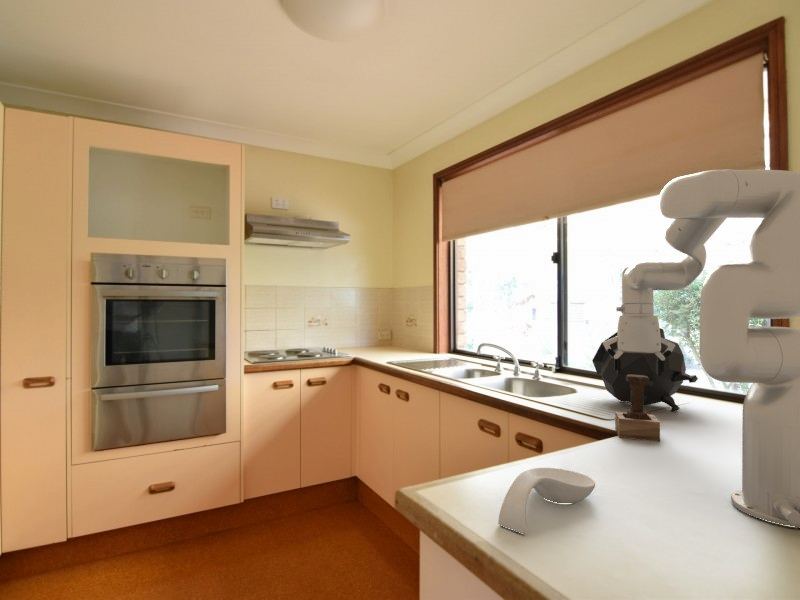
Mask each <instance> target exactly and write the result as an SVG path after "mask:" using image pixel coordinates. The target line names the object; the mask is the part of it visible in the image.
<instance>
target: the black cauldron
mask: <svg viewBox="0 0 800 600" xmlns="http://www.w3.org/2000/svg"><path fill="white" fill-rule="evenodd" d="M659 328H660V327H659ZM616 336H617V332H615V333H614V334H612V335H611V336H610V337H608V338H607V339H605V340H604V341H602V342H601V343H600V345H599V347H598V348H597V350H596V353H595V354H594V356H593V358H592V364H593V366H594V367H593V368H595V372H596V374H597V375H599V376H601V379H602V381H603V384H604V387H605V390H606V391H607V392H608V393H609V394H610V395H612V396H613V397H614V398H615V399H616V400H618V401H619V400H620V402H622V401H627V403H631V399H630V398H631V389H630V382H628V381H626V375H644V376H648V378H649V383H644V393H643V394H644V398H643V399H644V402H643V404H644V406H649V405H654V404H659V403H664V404H666V405H667V406H669V407H671V409H670V412H678V411H679V410H680V406H679V405H677V404H676V402H675V399H674V397H673V395H674V394H676V392H678V389H679V388H680V387H681V386H682V384H683V382H684V381H688V382H689V383H691V384H692V383H696V382H697V381H698V380H699V378H698V377H697V375H696V374H694V375H690V374H688V373H687V368H686V362H685V356H684V353H683V351H682V349H681V346H680V345H679V343H678V342H675V341H672V340H671V339H668V338H666V336H665V331H664V329H663V328H662V327H661V328H660V337H661V338H663V339H665V340H667V341H669V342H671V343H674V344H675V347H674V349H673V351H672V352H671V354H670V355H669V356H668V357H667V358H666V359H665V360H664V372H661V376H659V375H657V374H656V360H657V357H656V356H655V355H654V353H628V352H624V353H623V354H622V355H621V356H620V359H621V373H620V374H618V373H617V370H614V358H613V357H612V356H611V355H610V354H609V353H608V352H607V350H606V349H605V347H604V345H603V342H605V341H607V340H609V339H611V338H614V337H616ZM610 347H611V349H612V350H613V351H614V352H616V351H617V350H618V348H617V342H614V343H612V344H610ZM666 349H667V346H666V345H664V344H662V343H661V350H660V352H661V353H663V352H664V351H666Z"/></svg>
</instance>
